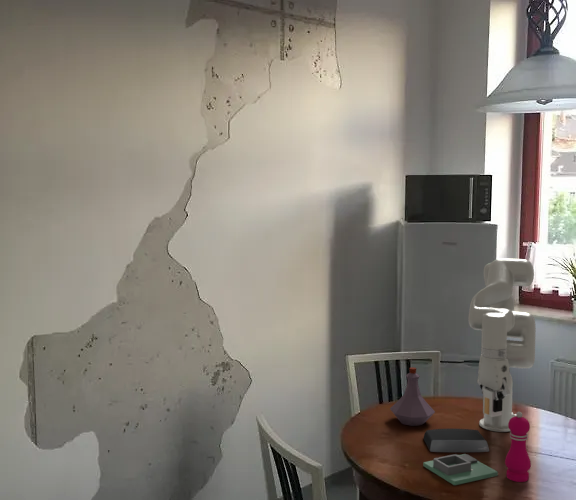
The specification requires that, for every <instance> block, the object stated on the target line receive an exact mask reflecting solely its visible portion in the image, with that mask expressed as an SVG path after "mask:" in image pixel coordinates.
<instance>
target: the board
mask: <svg viewBox="0 0 576 500" xmlns="http://www.w3.org/2000/svg"><path fill="white" fill-rule="evenodd" d="M422 465H423V467H424V468H426V469H427V470H429V471H430V472H431V473H433V474H436V475H437V476H438V477H440V478H442V479H444V480H445V481H447V482H448V483H449V484H451V485H453V486H458V485H463V484H467V483H471V482H475V481H480V480H485V479H489V478H493V477H497V476H499V471H497V470H496V469H494V468H492V467H490V466H488V465H486V464H484V463H482V462H481V461H479V460H478V459H476V458H475V457H473V456H471V455H469V454H466V453H463V454H457V453H455V454H449V455H445V456H439V457H434V458H433V460H428V461H423V464H422Z"/></svg>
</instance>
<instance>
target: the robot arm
mask: <svg viewBox="0 0 576 500" xmlns="http://www.w3.org/2000/svg"><path fill="white" fill-rule="evenodd" d="M534 278H535V271H534V267H533V264H532V262H531V261H530V260H528V259H523V258H498V259H494V260H493V261H492V262H489V263H487V264H485V265H484V267H483V280H484V284H485V287H483V288H482V289H480V290H479V291H478V292H476V293H475V294H474V295H473V297H472V298H471V301H470V305H469V310H468V325H469V327H470V328H471V329H473V330H475V331H481V343H480V344H481V347H480V348H481V349H480V350H481V352H480V353H481V354H480V357H479V363H478V373H477V377H478V378H477V380H476V382H477V384H478V386H479V387H480V390H481V394H482V395H483V389H484V388H490V389H493V390H494V396H495V399H494V400H493V412H499V411H502V415H499V416H494V417H490V416H488V415H486V414H484V413H483V418H481V419H480V420H479V422H478V423H479V426H480V427H481V428H483V429H484V430H487V431H490V432H491V431H492V432H496V433H497V432H499V433H507V432H509V433H510V432H511V431H510V429H509V427H508V423H509V420H510V419H511V418H512V417H515V416H516V413H515V414H514V412H513V382H514V381H513V377H512V375H511V372H510V368H514V369H531V368H532V367H533V366H534V364H535V359H536V320H535V317H534V315H533V314H532V313H530V312H525V311H515V297H513V290H514V289H513V288H514V287H515V286H516V287H530V286H531V285H532V284H533V282H534ZM513 286H514V287H513ZM508 338H511V339H512V340H510V339H508ZM513 339H519V340H513ZM498 392H500V394H499V395H498Z"/></svg>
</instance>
